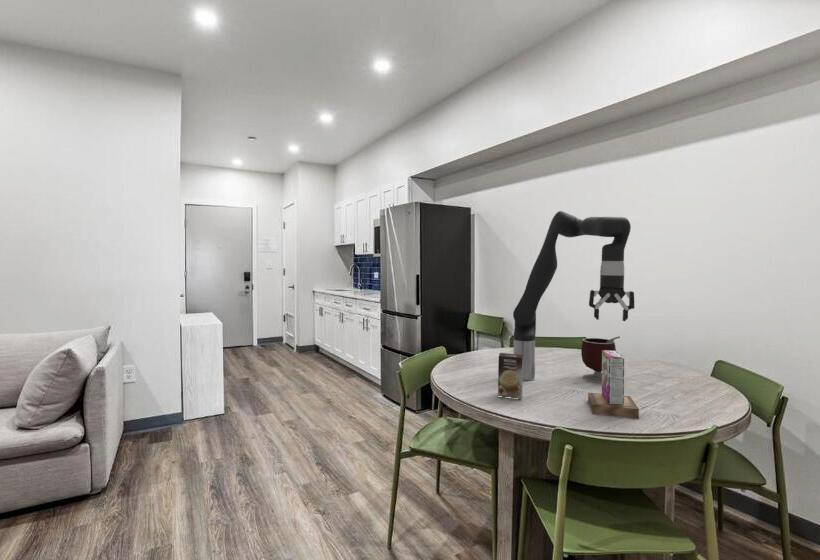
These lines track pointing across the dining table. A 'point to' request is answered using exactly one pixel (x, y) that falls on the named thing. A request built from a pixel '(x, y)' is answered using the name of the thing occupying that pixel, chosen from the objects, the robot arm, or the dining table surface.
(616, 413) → the walnut board
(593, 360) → the mate gourd
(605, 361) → the candy bar box
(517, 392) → the coffee box
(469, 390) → the dining table surface
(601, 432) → the dining table surface
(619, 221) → the robot arm
